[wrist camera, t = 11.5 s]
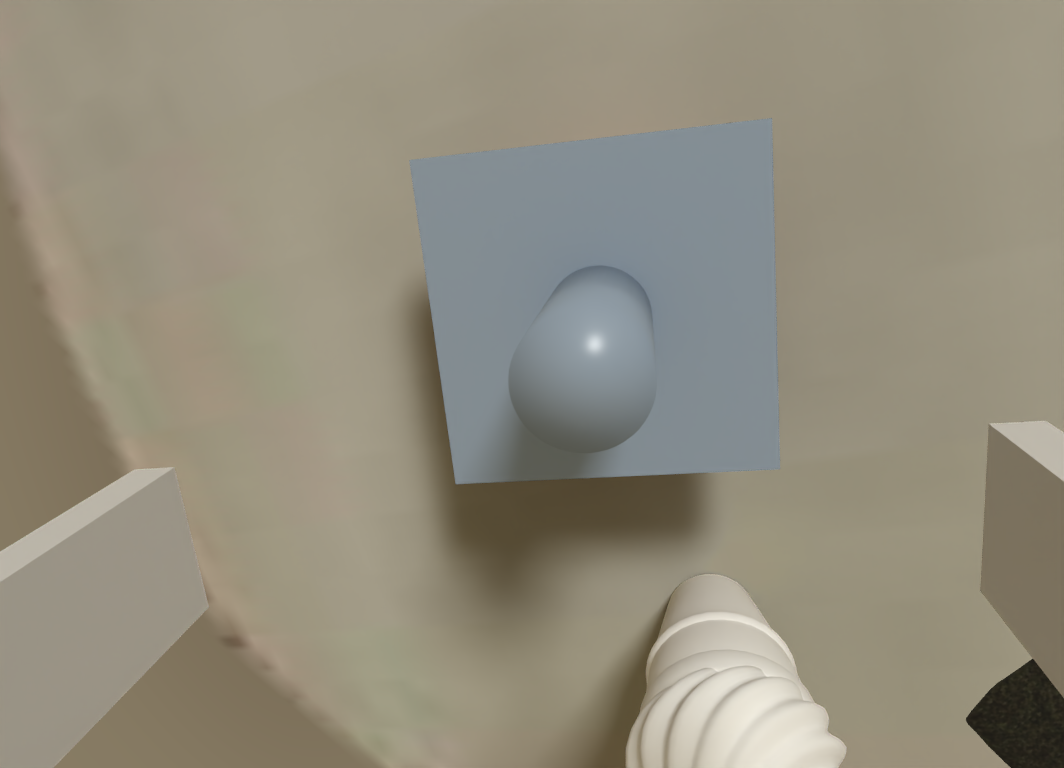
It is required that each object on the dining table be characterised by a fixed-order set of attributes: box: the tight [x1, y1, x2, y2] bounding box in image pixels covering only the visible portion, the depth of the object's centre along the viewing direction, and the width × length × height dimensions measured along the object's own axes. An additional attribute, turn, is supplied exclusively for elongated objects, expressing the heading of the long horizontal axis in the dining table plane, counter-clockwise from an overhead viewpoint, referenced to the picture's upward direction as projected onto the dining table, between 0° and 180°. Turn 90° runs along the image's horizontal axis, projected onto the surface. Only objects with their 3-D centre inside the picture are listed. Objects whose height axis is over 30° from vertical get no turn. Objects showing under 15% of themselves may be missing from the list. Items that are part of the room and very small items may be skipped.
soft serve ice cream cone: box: [625, 574, 847, 768], centre depth 32 cm, size 8×8×16 cm
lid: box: [409, 118, 780, 484], centre depth 26 cm, size 13×13×10 cm
